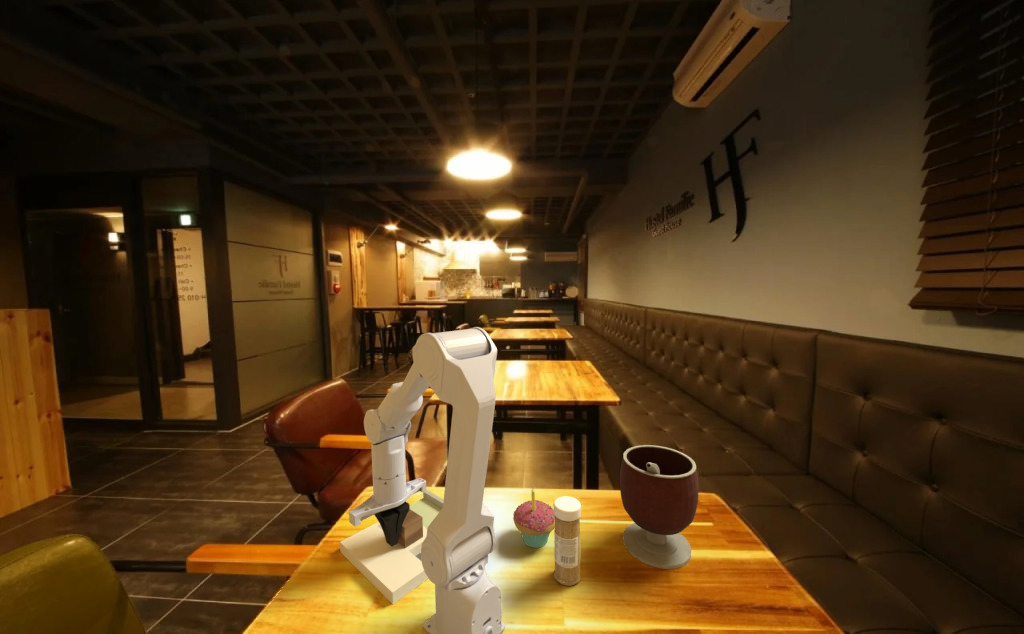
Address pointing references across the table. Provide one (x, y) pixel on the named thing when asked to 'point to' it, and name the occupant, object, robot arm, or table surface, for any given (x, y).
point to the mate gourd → (658, 504)
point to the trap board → (392, 553)
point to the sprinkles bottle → (567, 540)
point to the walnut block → (411, 529)
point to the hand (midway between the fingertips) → (392, 542)
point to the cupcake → (534, 521)
